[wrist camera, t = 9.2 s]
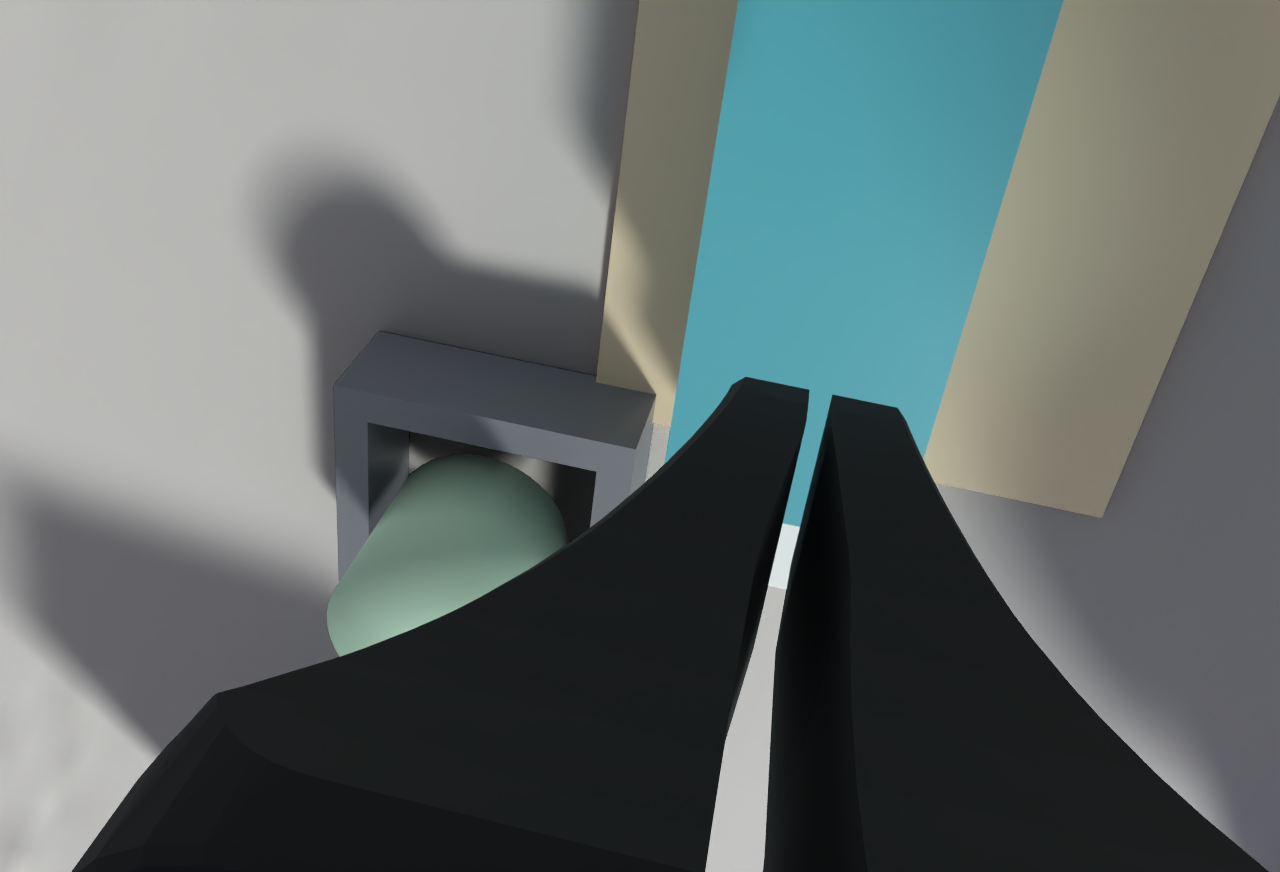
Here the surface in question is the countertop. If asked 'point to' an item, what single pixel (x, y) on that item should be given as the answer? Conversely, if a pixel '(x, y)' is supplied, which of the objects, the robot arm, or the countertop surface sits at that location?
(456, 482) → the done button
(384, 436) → the button housing
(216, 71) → the countertop surface
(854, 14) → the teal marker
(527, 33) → the countertop surface
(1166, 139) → the kraft paper
